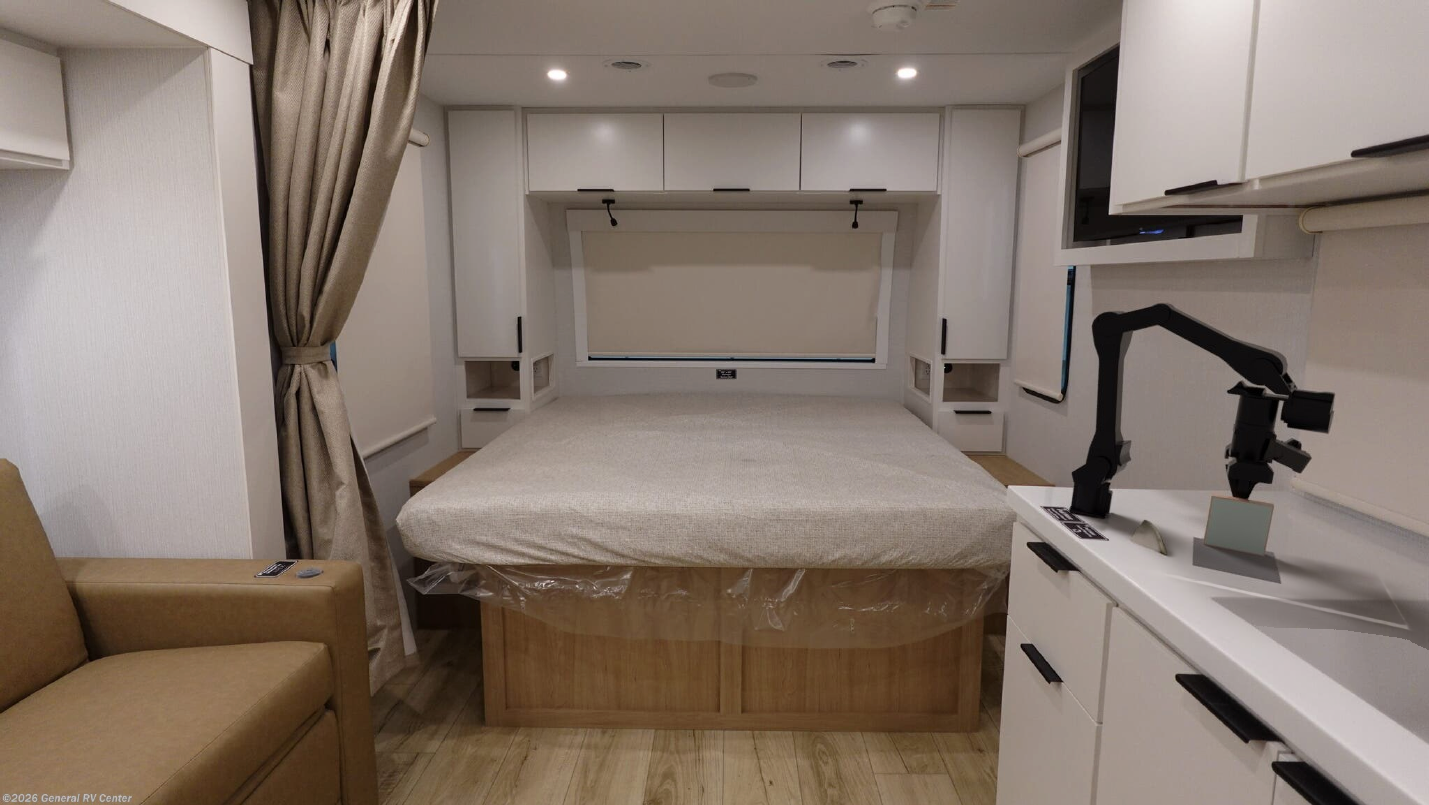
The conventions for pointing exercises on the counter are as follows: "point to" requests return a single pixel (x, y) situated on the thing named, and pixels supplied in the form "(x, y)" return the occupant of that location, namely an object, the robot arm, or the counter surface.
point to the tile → (1238, 524)
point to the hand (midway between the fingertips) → (1239, 509)
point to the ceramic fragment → (1149, 537)
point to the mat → (1235, 561)
